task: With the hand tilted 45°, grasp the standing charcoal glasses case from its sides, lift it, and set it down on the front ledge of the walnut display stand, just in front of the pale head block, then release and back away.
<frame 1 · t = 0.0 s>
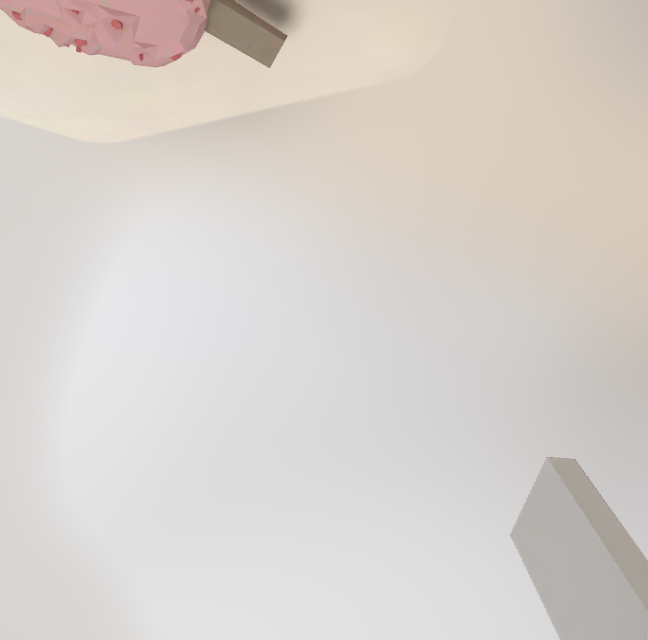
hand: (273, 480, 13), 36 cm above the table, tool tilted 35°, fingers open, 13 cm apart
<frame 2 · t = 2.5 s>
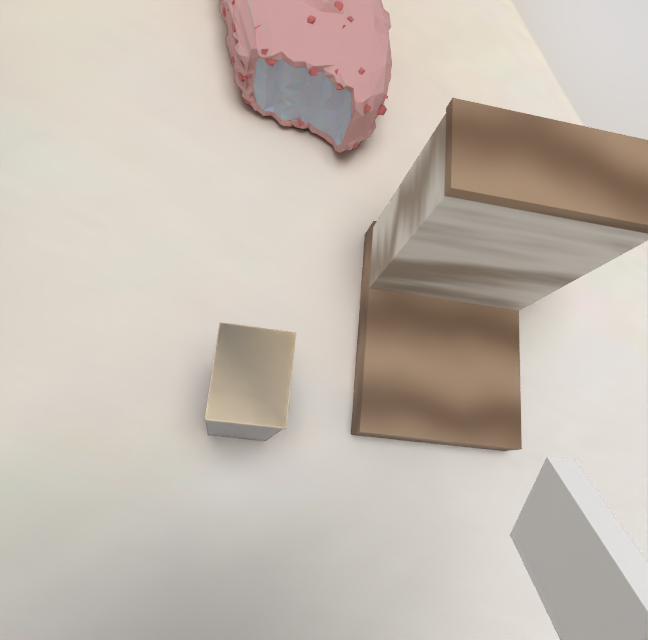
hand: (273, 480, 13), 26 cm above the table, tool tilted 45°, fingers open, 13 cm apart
stand: (432, 339, 43), on the table
ice cream bar: (286, 23, 49), on the table
case: (241, 402, 38), on the table
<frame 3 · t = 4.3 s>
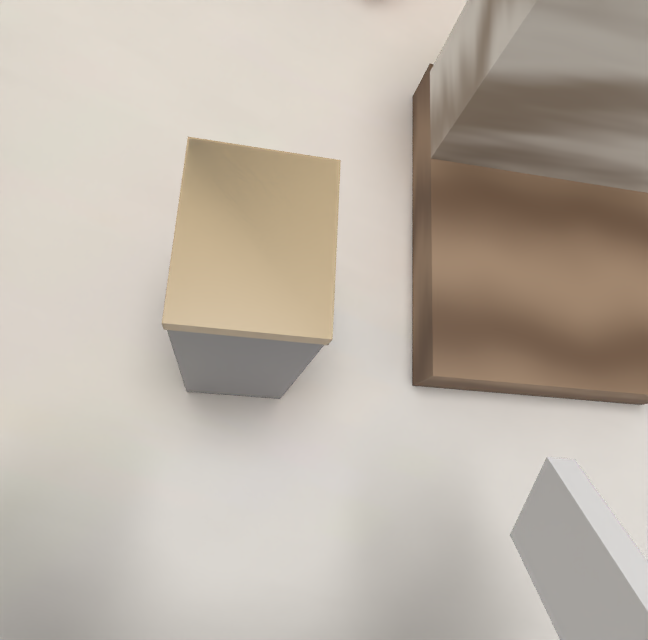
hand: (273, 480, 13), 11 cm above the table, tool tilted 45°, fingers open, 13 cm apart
stand: (521, 243, 28), on the table
case: (239, 339, 24), on the table
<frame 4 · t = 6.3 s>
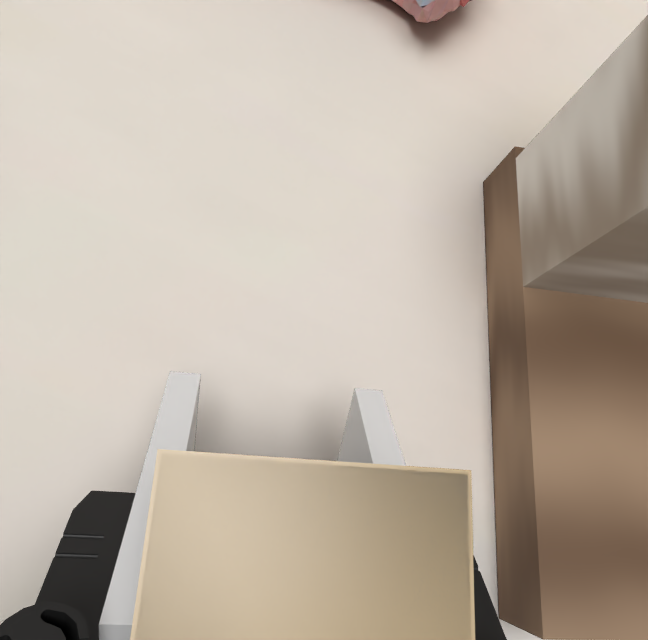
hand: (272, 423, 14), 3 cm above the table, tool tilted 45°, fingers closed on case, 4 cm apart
stand: (635, 388, 21), on the table
case: (251, 560, 17), on the table, touching gripper
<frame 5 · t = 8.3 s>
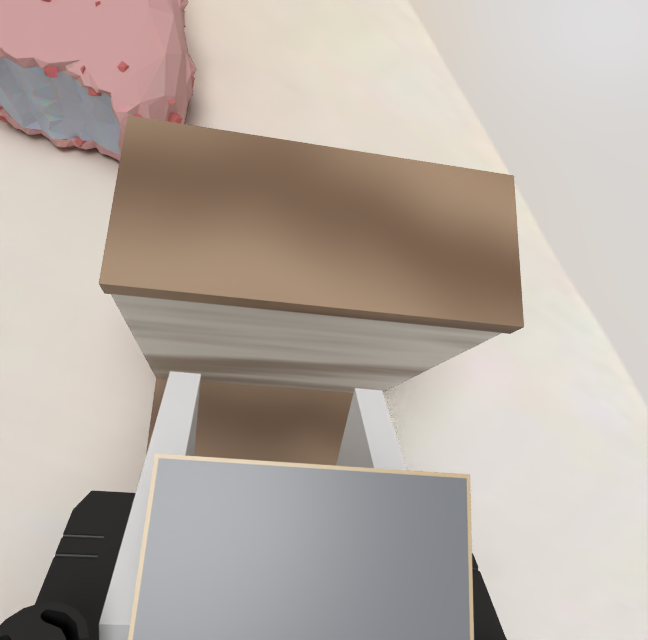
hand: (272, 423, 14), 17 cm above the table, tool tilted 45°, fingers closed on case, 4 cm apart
stand: (263, 436, 31), on the table
ice cream bar: (75, 7, 37), on the table
case: (250, 563, 17), point 14 cm above the table, touching gripper
when the fingers open (7 cm above the table, at t = 10.4 s): case drops 1 cm, resting on stand.
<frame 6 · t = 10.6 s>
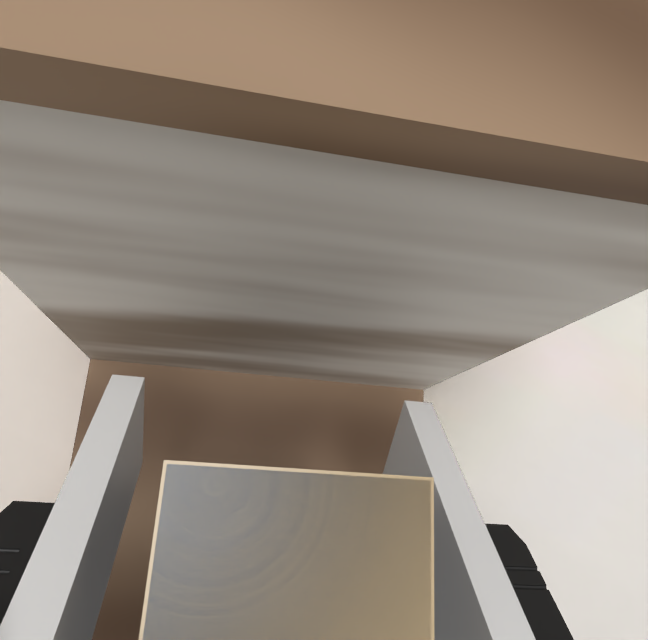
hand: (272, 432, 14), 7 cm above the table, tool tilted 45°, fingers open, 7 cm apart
stand: (254, 450, 21), on the table
case: (247, 557, 18), point 2 cm above the table, touching stand
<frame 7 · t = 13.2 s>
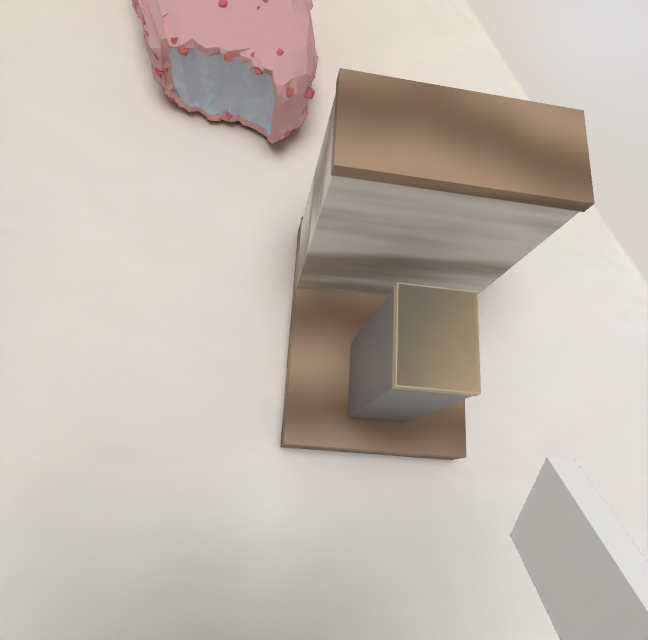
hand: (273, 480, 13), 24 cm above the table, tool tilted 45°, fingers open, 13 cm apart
stand: (371, 341, 40), on the table
ice cream bar: (211, 16, 47), on the table
case: (378, 382, 36), point 2 cm above the table, touching stand
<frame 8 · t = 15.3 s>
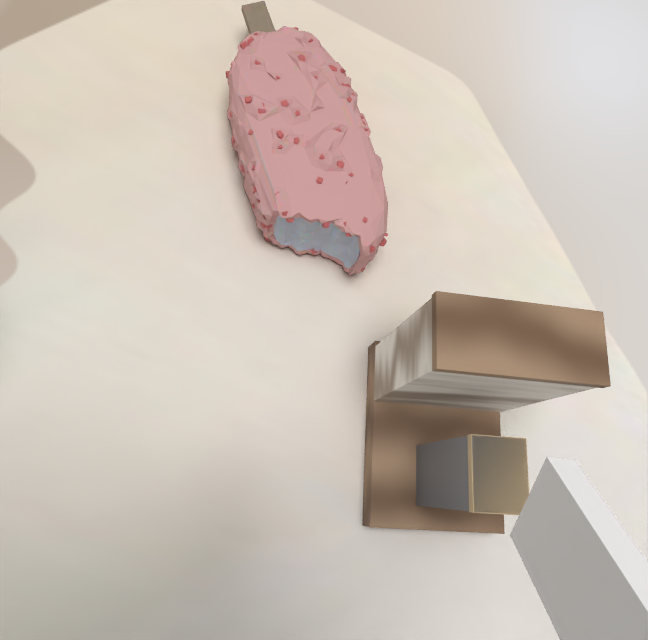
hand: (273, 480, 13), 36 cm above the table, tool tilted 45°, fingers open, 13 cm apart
stand: (427, 436, 51), on the table
ice cream bar: (290, 157, 57), on the table
case: (438, 476, 47), point 2 cm above the table, touching stand
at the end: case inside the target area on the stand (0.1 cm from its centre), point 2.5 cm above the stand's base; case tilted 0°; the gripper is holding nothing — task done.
